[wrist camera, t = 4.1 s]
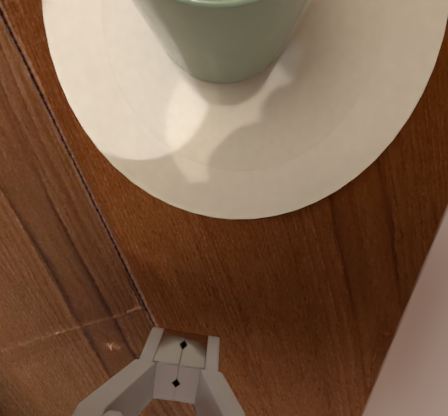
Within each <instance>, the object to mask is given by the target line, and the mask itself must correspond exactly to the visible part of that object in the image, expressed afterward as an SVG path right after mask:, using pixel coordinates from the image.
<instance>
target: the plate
mask: <svg viewBox="0 0 448 416" xmlns="http://www.w3.org/2000/svg"><path fill="white" fill-rule="evenodd" d="M42 8H43V19H44V25H45V31H46V36H47V41H48V46H49V51H50V54H51V57H52V61H53V64H54V67H55V70H56V73H57V77H58V80H59V82H60V84H61V87H62V89H63V91H64V94H65V96H66V98H67V100H68V103H69V105H70V107H71V108H72V110H73V112H74V114H75V115H76V117H77V119H78V121H79V123H80V124H81V126H82V128H83V129H84V131H85V132H86V133H87V135H88V136H89V137H90V139H91V140H92V142H93V143H94V144H95V146H96V147H97V148H98V149H99V151H100V152H101V153H102V154H103V155H104V156H105V157H106V158H107V159H108V160H109V162H110V163H111V164H112V165H113V166H114V167H115V168H116V169H118V170H119V171H120V172H121V173H122V174H123V175H124V176H126V177H127V178H128V179H129V180H130V181H131V182H133V183H134V184H136V185H137V186H139V187H140V188H142V189H143V190H144V191H146V192H147V193H149V194H150V195H152V196H154V197H156V198H158V199H160V200H162V201H164V202H166V203H168V204H170V205H172V206H175V207H178V208H180V209H183V210H186V211H188V212H191V213H196V214H200V215H204V216H208V217H214V218H224V219H257V218H264V217H271V216H277V215H280V214H284V213H288V212H291V211H295V210H298V209H300V208H303V207H305V206H308V205H310V204H313V203H315V202H317V201H319V200H321V199H323V198H325V197H326V196H328V195H330V194H332V193H334V192H336V191H337V190H339V189H340V188H342V187H343V186H344V185H346V184H347V183H349V182H350V181H351V180H353V179H354V178H356V177H357V176H358V175H359V174H360V173H361V172H363V171H364V170H365V169H366V168H367V167H368V166H369V165H370V164H371V163H373V162H374V161H375V160H376V159H377V158H378V157H379V155H380V154H381V153H382V152H383V151H384V150H385V149H386V148H387V146H388V145H389V144H390V143H391V142H392V141H393V140H394V138H395V137H396V135H397V134H398V133H399V131H400V130H401V128H402V127H403V126H404V124H405V123H406V121H407V120H408V119H409V117H410V115H411V113H412V112H413V110H414V108H415V106H416V105H417V103H418V101H419V99H420V97H421V96H422V94H423V92H424V89H425V87H426V85H427V82H428V80H429V78H430V75H431V73H432V71H433V69H434V66H435V63H436V60H437V57H438V53H439V50H440V47H441V44H442V40H443V37H444V33H445V28H446V22H447V17H448V0H313V2H312V3H311V5H310V7H309V9H308V10H307V12H306V14H305V16H304V17H303V19H302V21H301V23H300V24H299V26H298V28H297V29H296V31H295V33H294V35H293V36H292V38H291V40H290V42H289V43H288V45H287V46H286V48H285V49H284V51H283V52H282V53H281V55H280V56H279V57H278V58H277V59H276V60H275V61H274V62H273V63H272V64H271V65H270V66H269V67H268V68H266V69H265V70H263V71H262V72H260V73H259V74H257V75H255V76H253V77H251V78H249V79H246V80H243V81H240V82H234V83H213V82H208V81H205V80H201V79H199V78H197V77H194V76H192V75H191V74H189V73H187V72H186V71H184V70H183V69H182V68H180V67H179V66H178V65H177V64H176V63H175V62H174V61H173V60H172V59H171V58H170V57H169V56H168V55H167V53H166V52H165V51H164V49H163V48H162V46H161V45H160V43H159V42H158V40H157V39H156V37H155V36H154V34H153V33H152V31H151V30H150V28H149V27H148V25H147V24H146V22H145V21H144V19H143V18H142V16H141V15H140V13H139V12H138V10H137V9H136V7H135V6H134V4H133V3H132V1H131V0H42Z"/></svg>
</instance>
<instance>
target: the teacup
mask: <svg viewBox="0 0 448 416" xmlns="http://www.w3.org/2000/svg"><path fill="white" fill-rule="evenodd" d="M131 1H132V3H133V4H134V6H135V7H136V9H137V10H138V12H139V13H140V15H141V16H142V18H143V19H144V21H145V22H146V24H147V25H148V27H149V28H150V30H151V31H152V33H153V34H154V36H155V37H156V39H157V40H158V42H159V43H160V45H161V46H162V48H163V49H164V51H165V52H166V53H167V55H168V56H169V57H170V58H171V59H172V60H173V61H174V62H175V63H176V64H177V65H178V66H179V67H180V68H182V69H183V70H184V71H186V72H187V73H189V74H191V75H192V76H194V77H197V78H199V79H201V80H205V81H208V82H213V83H234V82H240V81H243V80H246V79H249V78H251V77H253V76H255V75H257V74H259V73H260V72H262V71H263V70H265V69H266V68H268V67H269V66H270V65H271V64H272V63H273V62H274V61H275V60H276V59H277V58H278V57H279V56H280V55H281V53H282V52H283V51H284V49H285V48H286V46H287V45H288V43H289V42H290V40H291V38H292V36H293V35H294V33H295V31H296V29H297V28H298V26H299V24H300V23H301V21H302V19H303V17H304V16H305V14H306V12H307V10H308V9H309V7H310V5H311V3H312V2H313V0H131Z"/></svg>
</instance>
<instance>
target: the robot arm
mask: <svg viewBox="0 0 448 416" xmlns="http://www.w3.org/2000/svg"><path fill="white" fill-rule="evenodd" d="M219 344H220V338H219V337H216V336H209V335H201V334H194V333H188V332H181V331H175V330H170V329H163V328H158V327H153V328H152V330H151V332H150V334H149V337H148V339H147V341H146V344H145V346H144V349H143V351H142V353H141V356H140V358H139V360H138V359H135V360H134V361H132V362H131V363H130V364H128V365H127V366H126V367H125V368H123V369H122V370H121V371H120V372H118V373H117V374H116V375H114V376H113V377H112V378H111V379H109V380H108V381H107V382H105V383H104V384H103V385H102V386H100V387H99V388H98V389H96V390H95V391H94V392H93V393H91V394H90V395H89V396H87V397H86V398H85V399H84V400H82V401H81V402H80V403H79V404H78V405H77V407H76V408H75V410H74V412H73V413H72V415H71V416H138V415H139V414H140V413H141V412H142V411H143V409H144V408H145V407H146V406H147V405H148V404H149V402H150V401H151V400H152V398H156V399H165V400H174V401H179V402H184V403H190V404H194V407H195V410H196V413H197V416H246V414H245V413H244V411H243V409H242V407H241V406H240V404H239V402H238V400H237V398H236V397H235V395H234V393H233V391H232V390H231V388H230V386H229V384H228V382H227V381H226V379H225V377H224V375H223V374H222V372H218V369H219Z"/></svg>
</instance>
